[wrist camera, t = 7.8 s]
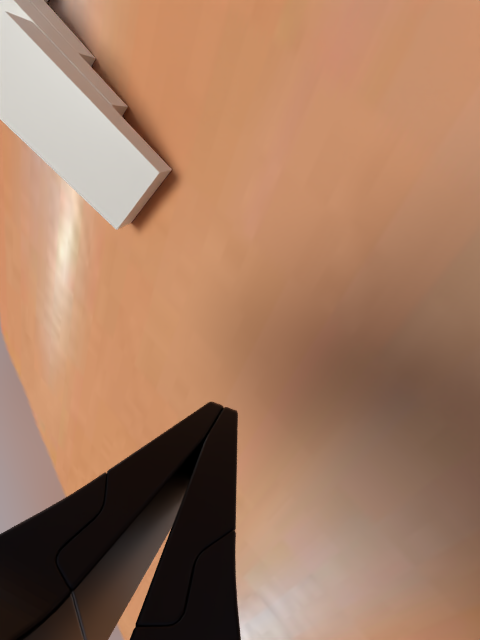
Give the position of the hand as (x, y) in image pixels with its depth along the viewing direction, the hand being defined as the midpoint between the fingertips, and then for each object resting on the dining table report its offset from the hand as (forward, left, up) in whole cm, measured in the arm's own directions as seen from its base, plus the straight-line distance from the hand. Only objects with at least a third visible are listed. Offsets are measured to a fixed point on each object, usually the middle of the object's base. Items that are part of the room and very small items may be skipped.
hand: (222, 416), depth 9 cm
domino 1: (+14, +5, -10) cm, 18 cm away
